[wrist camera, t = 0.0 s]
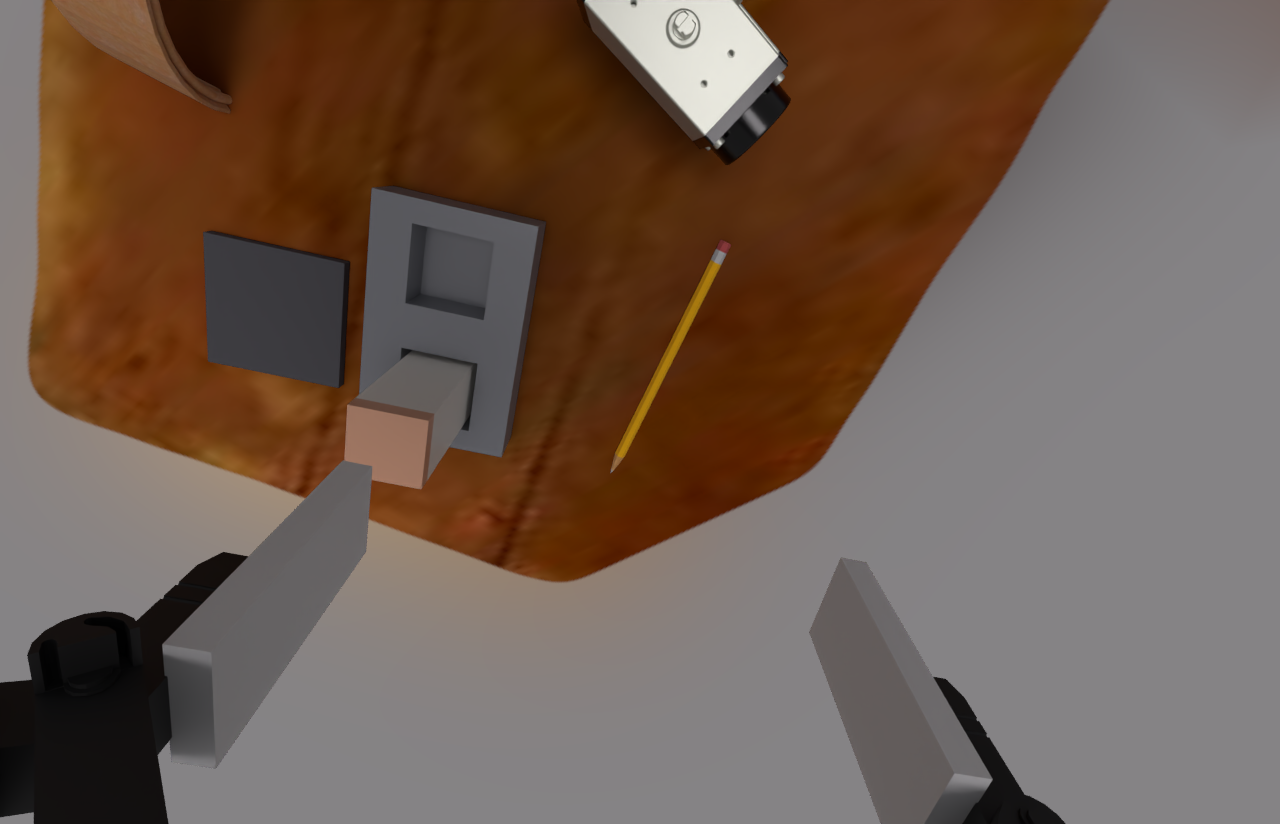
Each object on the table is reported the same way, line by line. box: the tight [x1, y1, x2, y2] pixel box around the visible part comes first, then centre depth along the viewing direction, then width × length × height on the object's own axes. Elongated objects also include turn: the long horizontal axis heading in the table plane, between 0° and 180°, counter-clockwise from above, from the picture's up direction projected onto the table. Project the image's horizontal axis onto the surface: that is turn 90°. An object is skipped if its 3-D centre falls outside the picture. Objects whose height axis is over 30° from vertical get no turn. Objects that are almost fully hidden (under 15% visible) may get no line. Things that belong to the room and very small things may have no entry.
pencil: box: [611, 240, 731, 472], centre depth 44 cm, size 1×19×1 cm, turn 155°
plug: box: [344, 350, 478, 489], centre depth 38 cm, size 4×4×12 cm
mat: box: [203, 231, 350, 388], centre depth 42 cm, size 9×9×1 cm
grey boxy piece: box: [359, 186, 546, 457], centre depth 41 cm, size 16×10×4 cm, turn 167°
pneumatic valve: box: [577, 0, 791, 165], centre depth 31 cm, size 6×12×12 cm, turn 46°
